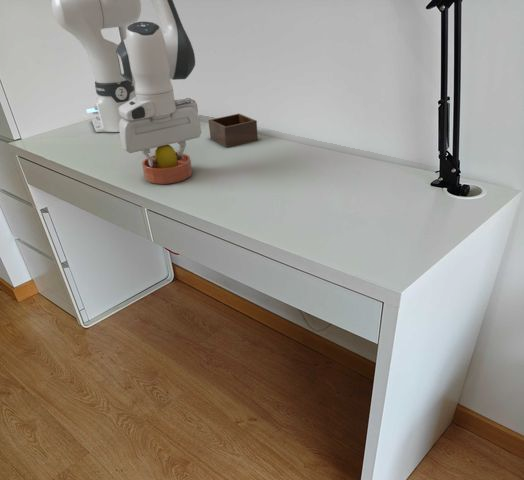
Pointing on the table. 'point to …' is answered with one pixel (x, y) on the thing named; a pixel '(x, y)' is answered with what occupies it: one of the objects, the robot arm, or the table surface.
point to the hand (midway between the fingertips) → (166, 162)
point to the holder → (233, 130)
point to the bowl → (168, 171)
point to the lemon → (165, 157)
